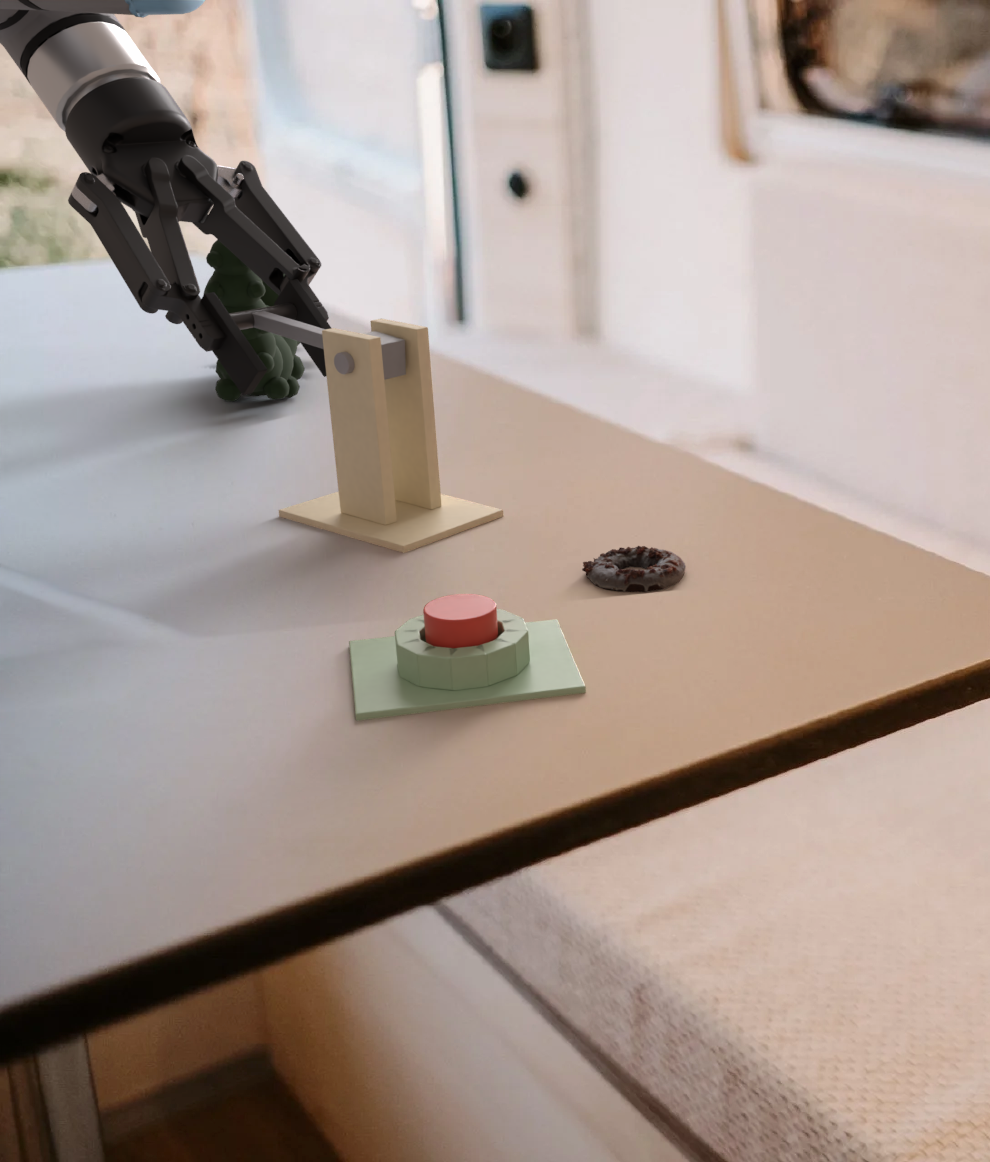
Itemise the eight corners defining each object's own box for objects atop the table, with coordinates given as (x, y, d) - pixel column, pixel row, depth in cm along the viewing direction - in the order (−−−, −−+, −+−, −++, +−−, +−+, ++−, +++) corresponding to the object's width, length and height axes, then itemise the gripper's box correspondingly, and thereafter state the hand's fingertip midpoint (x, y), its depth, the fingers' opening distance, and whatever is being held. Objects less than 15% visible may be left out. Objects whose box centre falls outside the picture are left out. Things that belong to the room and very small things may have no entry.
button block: (359, 754, 71) (351, 679, 69) (352, 677, 78) (345, 609, 77) (587, 725, 74) (584, 653, 73) (559, 654, 82) (555, 588, 81)
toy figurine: (313, 437, 125) (321, 347, 147) (288, 216, 117) (301, 154, 138) (194, 442, 123) (220, 350, 144) (159, 216, 114) (192, 154, 135)
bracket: (280, 527, 100) (255, 327, 95) (383, 494, 107) (365, 306, 102) (404, 564, 94) (386, 353, 89) (504, 527, 101) (492, 329, 96)
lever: (213, 340, 100) (210, 305, 99) (286, 326, 104) (284, 293, 103) (357, 386, 93) (355, 350, 93) (428, 369, 98) (427, 334, 97)
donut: (624, 555, 97) (623, 526, 96) (725, 577, 94) (725, 547, 93) (547, 597, 90) (545, 566, 89) (654, 621, 87) (653, 589, 86)
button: (428, 655, 73) (426, 623, 72) (423, 628, 76) (420, 597, 75) (502, 647, 74) (500, 615, 73) (493, 620, 77) (491, 590, 77)
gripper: (213, 138, 112) (380, 379, 111) (-38, 153, 97) (152, 433, 95) (250, 69, 108) (425, 319, 106) (-6, 73, 92) (194, 365, 91)
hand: (296, 372), depth 101 cm, fingers closed on lever, 6 cm apart
